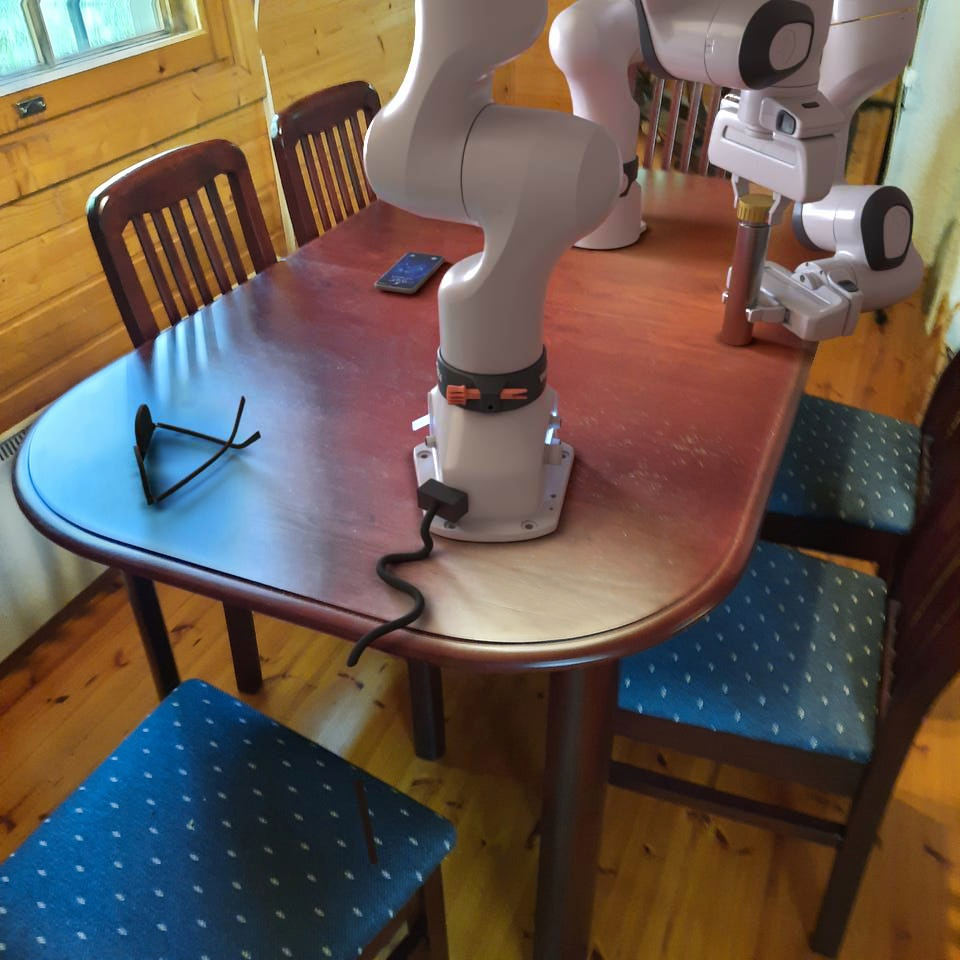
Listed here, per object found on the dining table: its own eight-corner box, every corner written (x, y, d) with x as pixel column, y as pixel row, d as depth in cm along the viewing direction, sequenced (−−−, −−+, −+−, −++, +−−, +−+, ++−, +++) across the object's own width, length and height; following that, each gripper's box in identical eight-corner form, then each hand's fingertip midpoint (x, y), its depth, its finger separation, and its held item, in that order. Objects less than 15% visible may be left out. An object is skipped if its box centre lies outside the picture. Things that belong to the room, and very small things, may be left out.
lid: (734, 221, 111) (737, 204, 110) (738, 208, 115) (741, 192, 114) (775, 224, 110) (778, 208, 109) (778, 211, 114) (781, 195, 112)
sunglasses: (270, 486, 97) (262, 449, 94) (137, 510, 94) (125, 474, 91) (257, 411, 110) (250, 377, 107) (140, 430, 107) (130, 396, 104)
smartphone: (447, 255, 148) (413, 290, 136) (447, 261, 148) (413, 296, 137) (407, 250, 150) (371, 284, 138) (407, 255, 150) (371, 290, 139)
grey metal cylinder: (715, 340, 123) (736, 209, 111) (727, 329, 125) (749, 200, 114) (743, 348, 121) (767, 215, 109) (755, 337, 123) (779, 206, 112)
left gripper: (704, 90, 111) (690, 197, 119) (811, 127, 96) (788, 246, 104) (744, 85, 113) (728, 190, 121) (856, 120, 98) (829, 238, 106)
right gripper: (778, 245, 129) (699, 259, 126) (872, 298, 114) (784, 316, 110) (771, 284, 133) (693, 299, 130) (860, 340, 118) (775, 359, 114)
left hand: (756, 216), depth 112 cm, fingers closed on lid, 5 cm apart
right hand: (736, 307), depth 120 cm, fingers closed on grey metal cylinder, 4 cm apart
